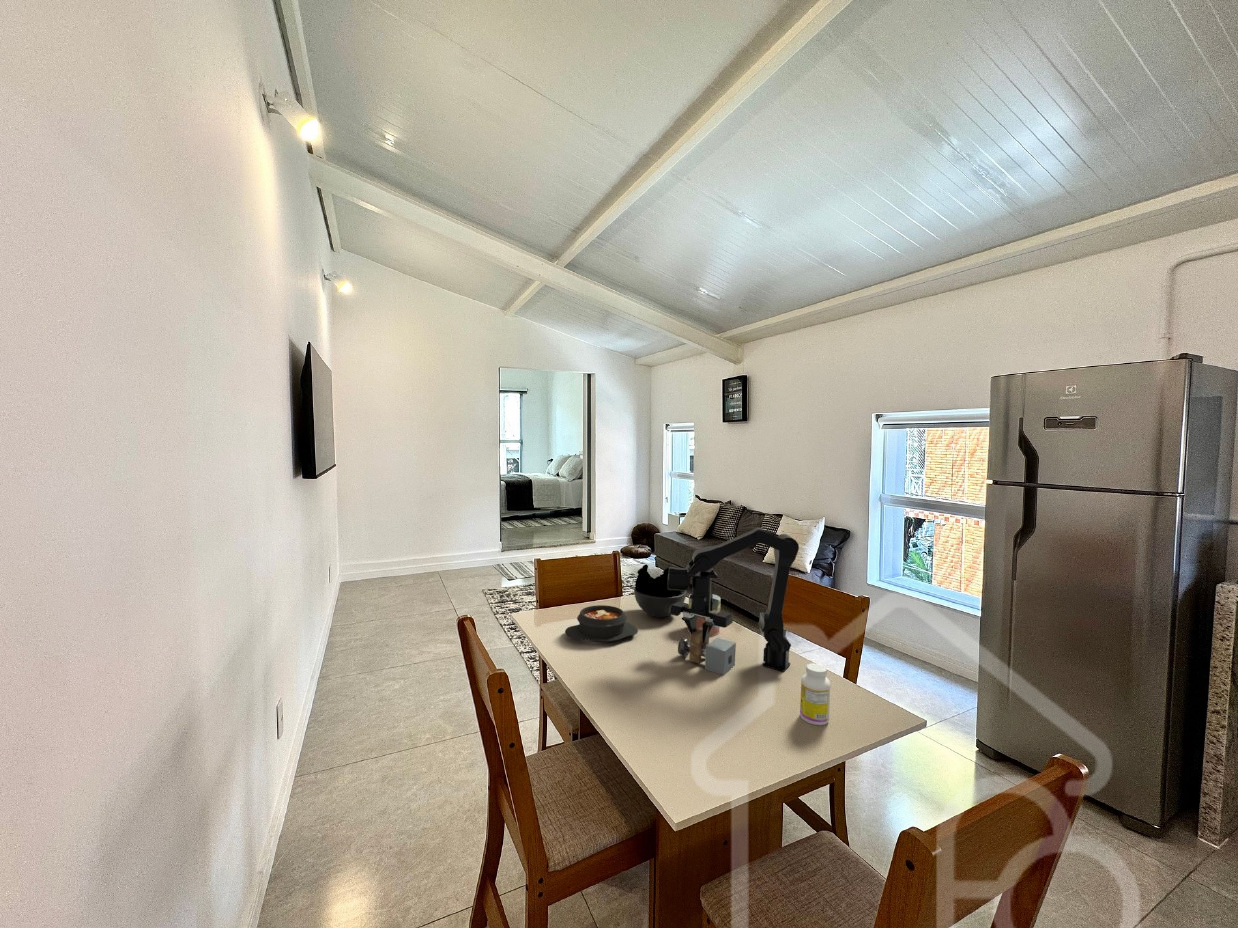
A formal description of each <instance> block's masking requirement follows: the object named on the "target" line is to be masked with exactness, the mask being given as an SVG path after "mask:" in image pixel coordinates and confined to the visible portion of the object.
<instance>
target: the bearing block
mask: <svg viewBox="0 0 1238 928" xmlns="http://www.w3.org/2000/svg"><path fill="white" fill-rule="evenodd" d="M736 644H737V642H735V641H732V640H727V639H723V638H720V637H716V638H715V639H714V640H712V641H711V642H709V644H708V645H706V657H704V658H705V660H704V662H705V663H704V670H705V671H706V670H707V671H710V672H713V673H716V674H719V675H723V676H725V675H726V674H727V673H728V672H730V671H731V670H732V669H731V668H734V667H735V666H736V647H737V645H736ZM733 666H734V667H733Z"/></svg>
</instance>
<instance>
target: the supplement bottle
mask: <svg viewBox="0 0 1238 928" xmlns="http://www.w3.org/2000/svg"><path fill="white" fill-rule="evenodd" d="M805 667H806V668H805V672H806V674H804V675H802V677H801V679H800V681H801V683H800V685H801V686H800V703H799V704H800V706H799V715H800V718H801V719H802V720H803V721H805V722H806V723H808V724H810V725H814V726H825V725H827V724H828V723H829V721H830V709H831V707H830V705H831V703H830V702H831V701H830V700H831V681H830V680H829V678H827V672H828V669H827V667H825V666H824V665H822V664H818V663H808V664H806V666H805Z"/></svg>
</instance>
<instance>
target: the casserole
mask: <svg viewBox="0 0 1238 928" xmlns="http://www.w3.org/2000/svg"><path fill="white" fill-rule="evenodd" d="M576 620H577V621H578V623H579V624H575V625H570V626H568V627H567V628H566V629H565V630H564V633H565V635H566V637H568V638H570V639H571V640H574V641H587V642H588V641H589V642H595V643H609V642H616V641H619V640H622V639H624V638H627V637H632V636H635V635H636V634H638V632H639V629H638V627H636V626H635V625H634V624H633V623H630V622H627V621H628V617H627V616H626V614H625V612H624V610H623V609H622V608H620V607H616V606H612V605H606V604H605V605H602V604H599V605H591V606H587V607H584V608H581V610H580V612H579V614H578V616H577V617H576Z"/></svg>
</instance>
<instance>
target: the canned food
mask: <svg viewBox="0 0 1238 928" xmlns="http://www.w3.org/2000/svg"><path fill="white" fill-rule="evenodd" d="M691 594H692V593H690V594H689V595H688V605H689V608H691V601H692V599H690V595H691ZM711 594H712V595H713V599H717V600H719V602H718V608H717V610H713V611H710V613H714V614H717V613H718V612H720V611H721V599H722V598H721V597H720V595H717V594H714V593H711ZM704 622H706V618H702V617H698V618H697V630H698V629H699V628H702V624H703V623H704ZM720 629H721V627H719V626H715V625H714V626H713V627H712V629H711V631H710V633H709V638H710V637H715V636H718V635H719V634H720V632H721V630H720ZM687 631H688V632H689V633H690V631H689V629H688V628H687Z"/></svg>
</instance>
